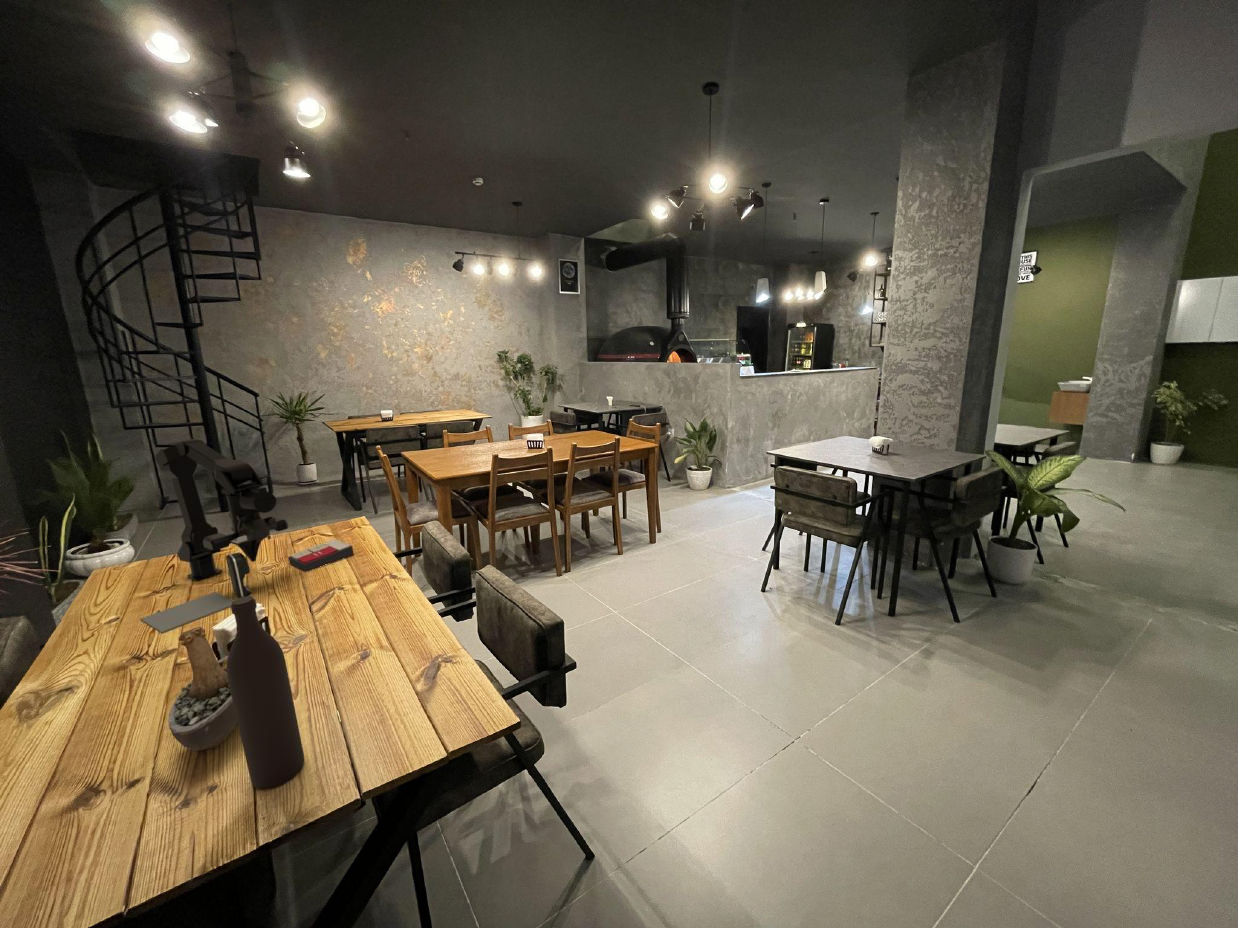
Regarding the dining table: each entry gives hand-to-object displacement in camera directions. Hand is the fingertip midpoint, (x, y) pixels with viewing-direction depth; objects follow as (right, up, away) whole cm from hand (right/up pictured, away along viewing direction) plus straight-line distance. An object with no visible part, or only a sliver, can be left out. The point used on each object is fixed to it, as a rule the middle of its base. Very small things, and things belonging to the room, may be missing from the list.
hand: (253, 561), depth 139 cm
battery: (-2, -9, -1) cm, 9 cm away
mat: (-8, -11, -11) cm, 18 cm away
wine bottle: (+50, -22, -61) cm, 82 cm away
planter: (+33, -20, -52) cm, 65 cm away
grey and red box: (+8, -4, +20) cm, 22 cm away
